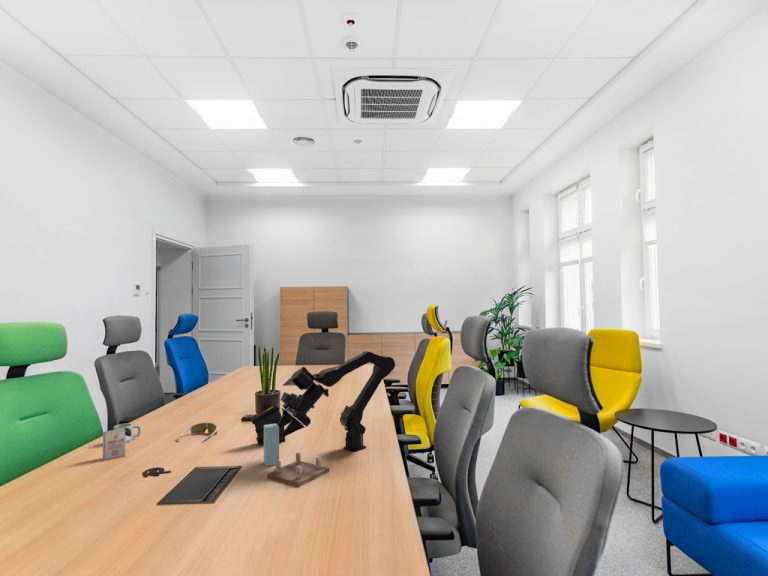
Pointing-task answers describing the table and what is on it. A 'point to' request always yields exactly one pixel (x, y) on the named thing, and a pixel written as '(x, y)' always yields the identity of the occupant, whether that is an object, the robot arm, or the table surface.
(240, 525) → the table surface
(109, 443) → the small printed box
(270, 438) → the block
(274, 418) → the black ridged slab
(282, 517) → the table surface
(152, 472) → the black flat pronged piece
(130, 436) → the mug
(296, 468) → the pin stand
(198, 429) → the sunglasses
